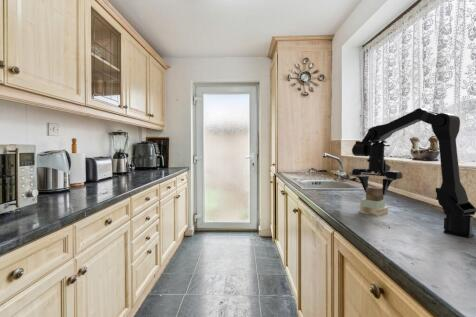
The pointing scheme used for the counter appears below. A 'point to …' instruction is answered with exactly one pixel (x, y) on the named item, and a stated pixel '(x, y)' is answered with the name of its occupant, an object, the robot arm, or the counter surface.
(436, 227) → the counter surface
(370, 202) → the sage slab
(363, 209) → the beech slab
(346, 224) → the counter surface
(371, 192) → the walnut cube
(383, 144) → the robot arm
